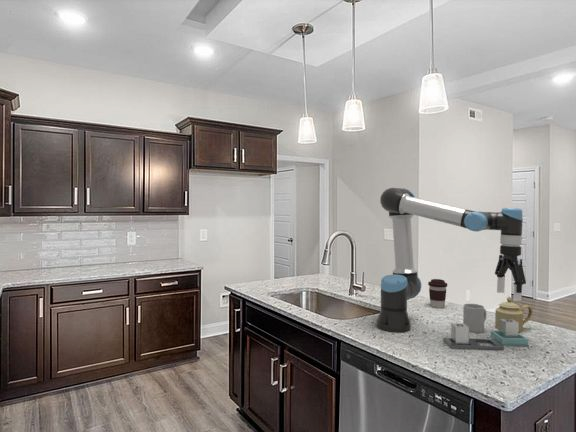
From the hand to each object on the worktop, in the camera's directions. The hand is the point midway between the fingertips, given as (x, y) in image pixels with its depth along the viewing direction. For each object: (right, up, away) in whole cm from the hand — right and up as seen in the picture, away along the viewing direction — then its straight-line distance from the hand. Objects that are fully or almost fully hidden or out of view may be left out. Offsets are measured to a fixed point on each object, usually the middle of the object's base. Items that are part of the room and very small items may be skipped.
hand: (508, 296), depth 158 cm
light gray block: (-22, -19, -4) cm, 29 cm away
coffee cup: (-8, -18, +55) cm, 58 cm away
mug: (-6, -19, +16) cm, 25 cm away
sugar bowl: (+11, -19, +17) cm, 28 cm away
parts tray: (0, -19, 0) cm, 19 cm away
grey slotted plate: (-17, -19, -5) cm, 26 cm away
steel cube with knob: (0, -18, 0) cm, 18 cm away
